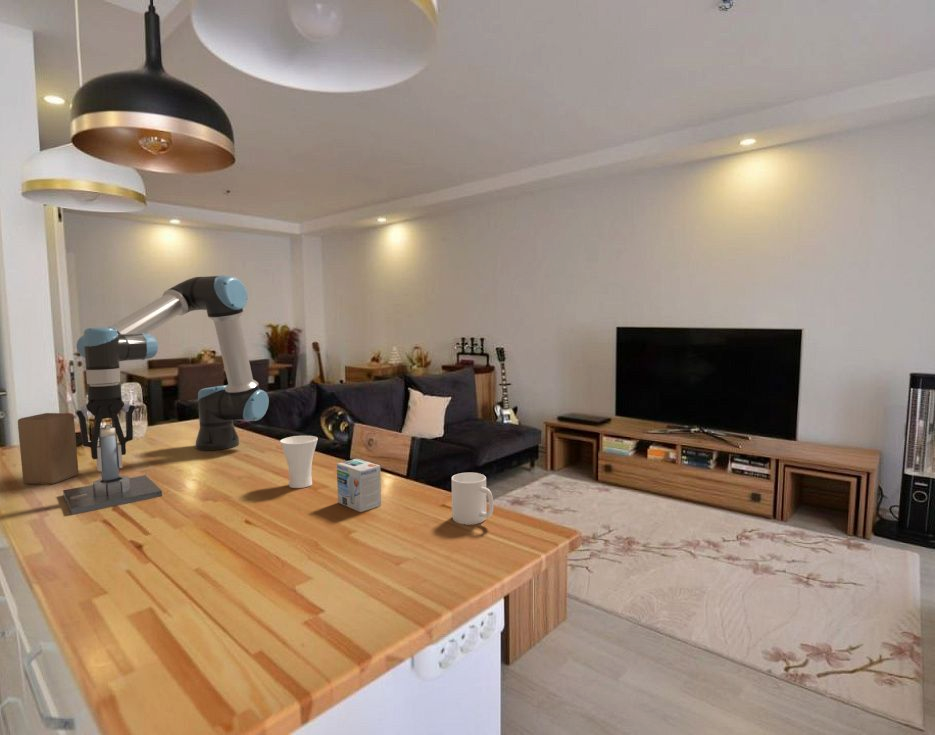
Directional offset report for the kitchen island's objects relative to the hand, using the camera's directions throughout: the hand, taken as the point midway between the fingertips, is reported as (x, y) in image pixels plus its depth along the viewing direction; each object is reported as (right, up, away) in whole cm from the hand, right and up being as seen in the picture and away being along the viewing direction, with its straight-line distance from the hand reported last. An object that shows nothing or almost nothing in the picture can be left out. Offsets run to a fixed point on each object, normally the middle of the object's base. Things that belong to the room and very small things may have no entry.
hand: (110, 468), depth 144 cm
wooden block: (-29, -7, +16) cm, 34 cm away
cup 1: (+50, -7, +9) cm, 51 cm away
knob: (0, -3, 0) cm, 3 cm away
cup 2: (+100, -9, -20) cm, 103 cm away
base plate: (0, -8, +1) cm, 8 cm away
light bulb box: (+71, -8, -8) cm, 71 cm away
